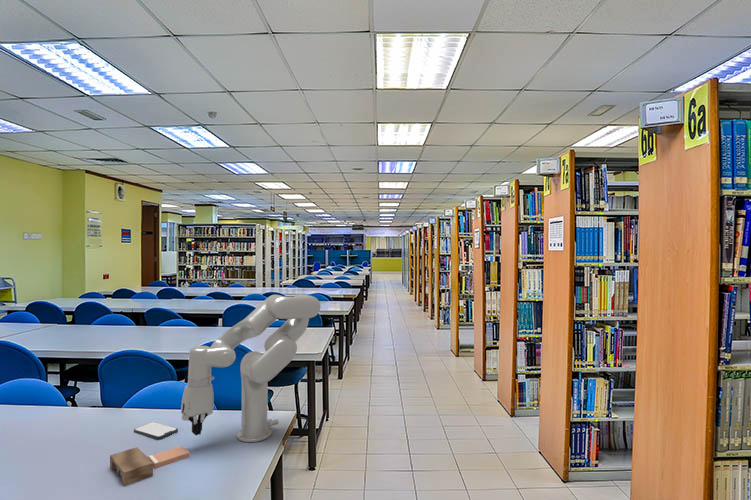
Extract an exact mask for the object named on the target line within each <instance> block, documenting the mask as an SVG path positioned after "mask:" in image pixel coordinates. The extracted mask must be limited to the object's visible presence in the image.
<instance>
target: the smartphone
mask: <svg viewBox="0 0 751 500" xmlns="http://www.w3.org/2000/svg"><path fill="white" fill-rule="evenodd" d="M178 430H179V429H178V428H177V427H173V426H170V425H166V424H162V423H159V422H154V421H152V422H149V423H146V424H144V425H141V426H138V427H136V428H134V429H133V433H134V434H138V435H141V436H143V437H147V438H150V439H153V440H155V439H156V441H160V440H163V438H164V439H166V438H168V437H171V436H172V434H173V435H175V434H178V432H179V431H178ZM174 433H175V434H174ZM170 435H171V436H170ZM165 437H166V438H165Z"/></svg>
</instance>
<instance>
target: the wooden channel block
mask: <svg viewBox="0 0 751 500" xmlns="http://www.w3.org/2000/svg"><path fill="white" fill-rule="evenodd" d="M109 469H110V470H111V471H113V470H116V471H115V472H116V473H117V474H118V475H120V478H121V484H122V485H123V486H124V487H125V486H128V485H130V484H134V483H136V482H140V481H141V480H145V479H148V478H150V477H153V476H154V467H153V462H152V461H151V460H150V459H149V458H148V456H147V454H145V453H144V452H143V451H142V450H141V449H140V448H139V447H133V448H130V449H126V450H123V451H119V452H117V453H114V454H110V455H109Z"/></svg>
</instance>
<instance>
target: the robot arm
mask: <svg viewBox="0 0 751 500" xmlns="http://www.w3.org/2000/svg"><path fill="white" fill-rule="evenodd" d="M320 311H321V302H320V301H319V299H318V298H316V297H315V296H314V295H313V296H312V295H309V294H304V293H297V294H295V295H294V296H284V295H280V294H272V295H270V296H268V297H266V299H264V300H263V301H262V302H261V303H260V304H258V306H257V307H256V308H255V309H254V310H252V311H251V312H250V313H249V314H247V316H246V317H245V318H244V319H242V320H240V321H239V322H237V323H236V324H235V325H232V326H231V327H230V328H228V329H227V330H225V331H224V332H223V333H222V334H221V335H220V336H219V337H218V338H217V339H216V340H215V341H214V342H213V343H212V344H211V345H210V346H208V345H195V346H192V347H191V348H190V350H189V354H188V370H187V371H188V373H187V374H188V375H187V385H185V386H184V388H183V389H184V390H183V393H182V397H181V398H182V399H181V405H180V414H182V415H181V420H182V421H187V422H188V421H189V422H191V432H192V434H193V435H194V436H199V435H202V434H201V433H202V431H203V423H204V422H205V419H206V418H207V417H208V416H210V415H212V414H213V413H214V411H213V410H214V407H215V406H214V405H215V402H214V401H215V400H214V399H215V398H214V388H213V383H212V381H213V380H215V376H214V375H212V368H226V367H229V366H231V365H232V364H234V362H235V361H236V359H237V355H236V351H235V350H234V349H236V347H237V346H239V345H240V344H241V343H243V342H244V341H246V340H249V339H253V338H256V337H258V336H261V335H262V333H264V332H265V331H266V330H267V329H268V328H269V327H270V326H271V325H272V324H273V323H275V321H276V320H277V319H279V320H286V321H285V322H284V323H283V324H282V325H281V326H280V327H278V329H276V330H275V331H274V332H273V333H271V335H270V336H268V337H267V338H266V340H265V341H264V345H263V347H264V351H265V352H264V353H262V352H259V351H258V350H257V351H249V352H247V353H246V354H245V355H244V356H242V359H241V361H240V366H239V367H240V368H239V369H240V378H241V429H240V430H239V431H237V434H236V438H237V439H238V440H239V441H240V442H243V443H255V442H256V443H257V442H261V441H264V440H266V439H268V438H269V437H271V435H272V429H271V428H272V427H273V426H276V425H278V424H279V419H277V418H276V419H273V420H272V418H270V419H268V395H269V394H268V393H269V392H268V391H269V389H268V387H269V386H268V382H270V381H271V380H273V379H274V378H275V377H277V375H278V374H279V373H280V372H281V371H282V370H283V369H285V367H287V366H288V364H290V362H291V361H293V359H294V358H295V356H296V353H297V352H298V351H297V349H298V347H297V341H298V340H299V339H300V338H301V337H302V336H303V335H304V334H305V332H306V330H307V328H308V326H309V321H310V319H312V318H314V317H316V316H317V315H319V313H320Z"/></svg>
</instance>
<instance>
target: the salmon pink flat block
mask: <svg viewBox="0 0 751 500" xmlns="http://www.w3.org/2000/svg"><path fill="white" fill-rule="evenodd" d="M190 456H191V455H190V451H189V450H187V448H185V446H183V445H179V446H176V447H174V448H169V449H166V450H163V451H161V452H157V453H154V454H151V455H150V454H149V455H148V456H147V457H148V458H149V459H150V460H151V461H152V462H153V469H157V468H161V467H164V466H167V465H169V464H172V463H175V462H178V461H181V460H184V459H188V458H190Z"/></svg>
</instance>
